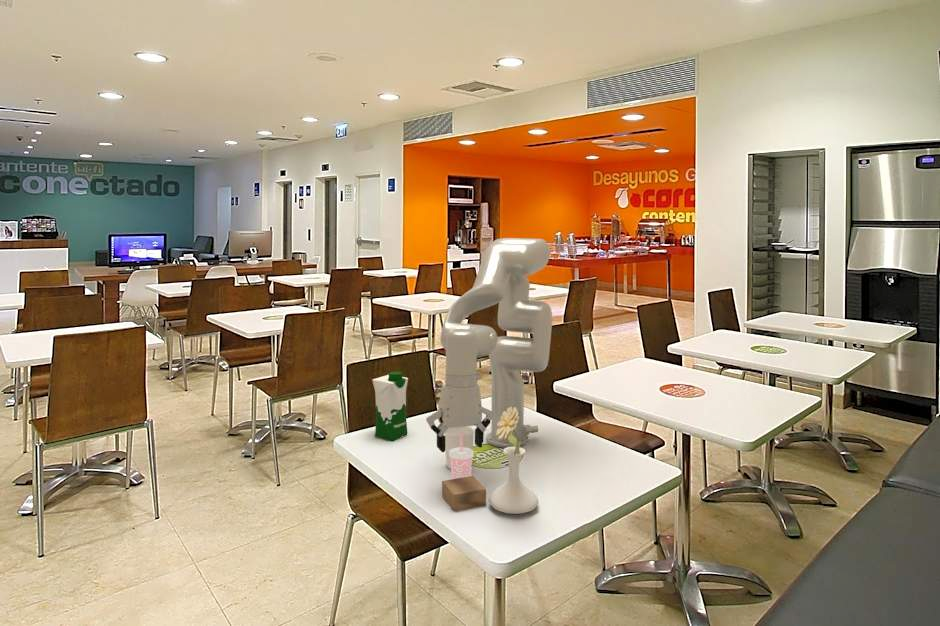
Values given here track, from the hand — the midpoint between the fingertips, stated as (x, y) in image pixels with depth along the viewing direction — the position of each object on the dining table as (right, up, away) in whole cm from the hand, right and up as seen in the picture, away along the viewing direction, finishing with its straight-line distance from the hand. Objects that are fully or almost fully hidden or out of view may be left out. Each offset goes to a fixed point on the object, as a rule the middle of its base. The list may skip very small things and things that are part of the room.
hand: (460, 448), depth 156 cm
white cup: (-1, -8, +15) cm, 17 cm away
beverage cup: (0, -10, +2) cm, 10 cm away
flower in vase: (+12, -12, -10) cm, 20 cm away
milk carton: (-22, -4, +37) cm, 43 cm away
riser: (+1, -11, -6) cm, 13 cm away
